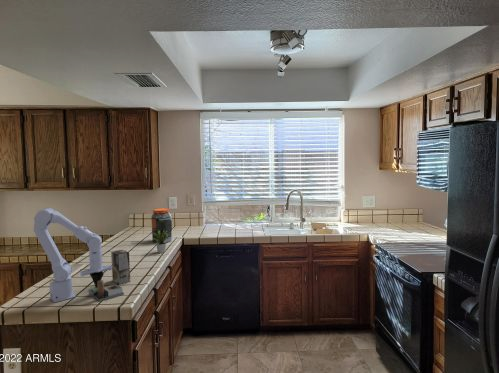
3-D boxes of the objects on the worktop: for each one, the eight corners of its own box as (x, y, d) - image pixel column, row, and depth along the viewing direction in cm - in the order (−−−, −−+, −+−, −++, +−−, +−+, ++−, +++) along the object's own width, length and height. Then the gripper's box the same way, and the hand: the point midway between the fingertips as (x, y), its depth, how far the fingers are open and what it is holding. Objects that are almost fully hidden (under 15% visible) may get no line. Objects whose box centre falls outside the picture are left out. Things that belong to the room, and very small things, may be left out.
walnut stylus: (99, 298, 172) (98, 282, 172) (97, 296, 174) (96, 281, 174) (105, 296, 174) (104, 281, 174) (103, 294, 176) (102, 279, 176)
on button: (94, 292, 177) (94, 289, 177) (91, 290, 180) (91, 287, 180) (103, 290, 180) (102, 286, 180) (99, 288, 183) (99, 285, 183)
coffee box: (130, 281, 199) (129, 252, 197) (119, 284, 194) (118, 254, 193) (123, 277, 205) (122, 249, 204) (112, 280, 201) (110, 251, 199)
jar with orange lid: (174, 239, 301) (173, 207, 299) (168, 243, 286) (167, 210, 284) (156, 238, 303) (155, 207, 301) (149, 243, 287) (148, 210, 285)
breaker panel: (99, 301, 171) (99, 294, 171) (89, 294, 180) (88, 287, 180) (124, 294, 179) (123, 287, 179) (112, 287, 189) (112, 281, 188)
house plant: (166, 255, 250) (165, 232, 249) (147, 254, 253) (146, 231, 252) (174, 250, 264) (173, 228, 263) (156, 249, 267) (156, 227, 266)
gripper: (83, 264, 171) (85, 293, 172) (113, 258, 181) (115, 285, 182) (78, 261, 176) (79, 289, 177) (107, 255, 186) (109, 281, 187)
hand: (97, 287), depth 180 cm, fingers closed, pressing on on button
